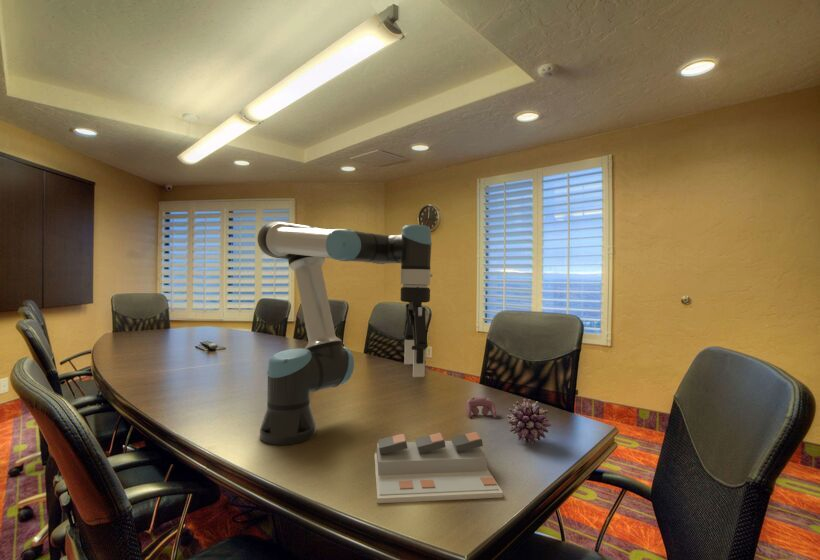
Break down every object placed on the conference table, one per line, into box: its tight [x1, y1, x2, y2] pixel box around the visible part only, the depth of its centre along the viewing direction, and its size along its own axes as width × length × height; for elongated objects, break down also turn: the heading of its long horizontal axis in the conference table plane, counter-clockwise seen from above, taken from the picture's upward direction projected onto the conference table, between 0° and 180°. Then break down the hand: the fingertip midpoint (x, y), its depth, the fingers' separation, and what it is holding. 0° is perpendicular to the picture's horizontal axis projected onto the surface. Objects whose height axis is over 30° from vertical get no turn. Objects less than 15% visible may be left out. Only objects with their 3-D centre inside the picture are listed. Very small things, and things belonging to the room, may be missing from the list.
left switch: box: [377, 433, 407, 455], centre depth 91 cm, size 6×5×2 cm
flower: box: [507, 398, 552, 445], centre depth 108 cm, size 12×12×12 cm
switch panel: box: [374, 440, 504, 504], centre depth 89 cm, size 26×20×4 cm
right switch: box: [450, 431, 484, 452], centre depth 94 cm, size 6×5×2 cm
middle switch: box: [414, 432, 446, 454], centre depth 92 cm, size 6×5×2 cm
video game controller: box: [465, 396, 497, 419], centre depth 129 cm, size 10×5×7 cm, turn 92°
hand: (413, 370), depth 98 cm, fingers open, 13 cm apart
